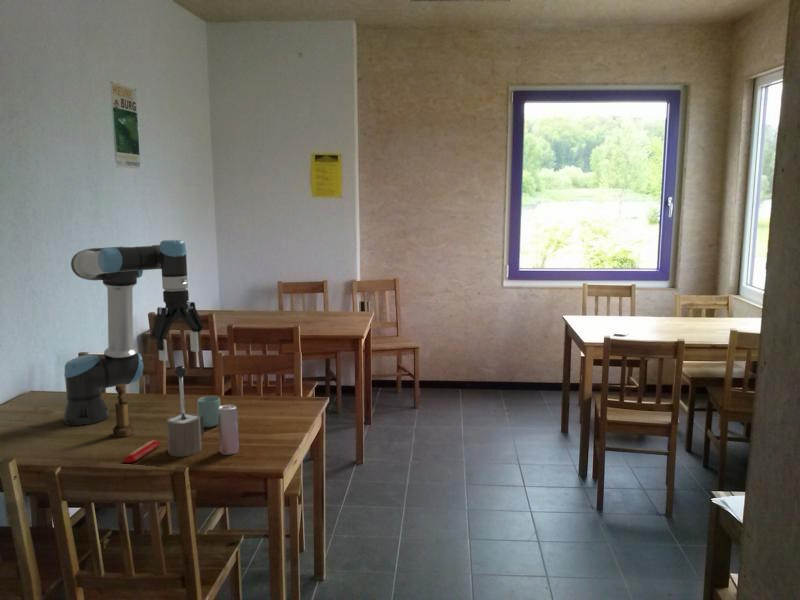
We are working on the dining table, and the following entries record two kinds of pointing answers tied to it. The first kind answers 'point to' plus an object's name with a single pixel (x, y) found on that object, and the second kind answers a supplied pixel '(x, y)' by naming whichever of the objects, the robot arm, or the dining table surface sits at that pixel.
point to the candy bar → (141, 451)
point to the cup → (208, 410)
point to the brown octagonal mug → (184, 434)
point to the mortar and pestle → (122, 415)
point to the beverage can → (228, 429)
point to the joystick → (181, 388)
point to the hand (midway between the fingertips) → (179, 355)
